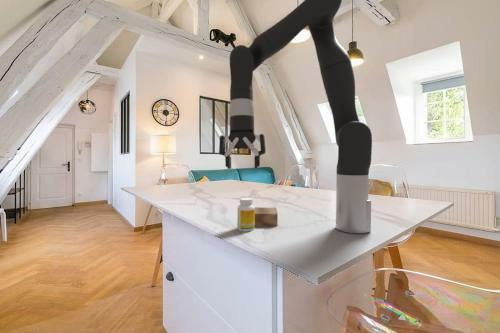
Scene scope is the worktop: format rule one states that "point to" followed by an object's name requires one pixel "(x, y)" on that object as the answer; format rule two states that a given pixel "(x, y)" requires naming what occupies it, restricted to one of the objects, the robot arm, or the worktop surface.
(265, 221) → the walnut block
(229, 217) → the worktop surface
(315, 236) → the worktop surface
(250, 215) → the supplement bottle
